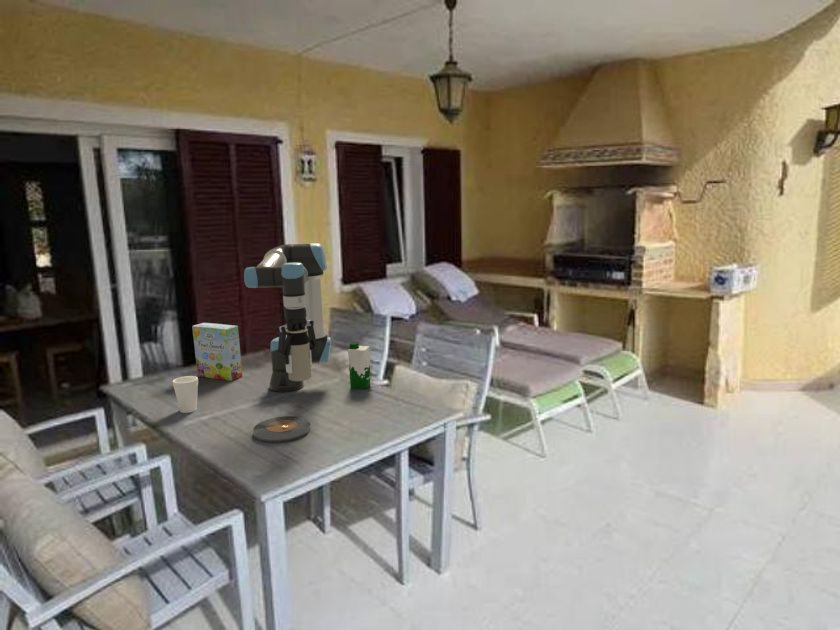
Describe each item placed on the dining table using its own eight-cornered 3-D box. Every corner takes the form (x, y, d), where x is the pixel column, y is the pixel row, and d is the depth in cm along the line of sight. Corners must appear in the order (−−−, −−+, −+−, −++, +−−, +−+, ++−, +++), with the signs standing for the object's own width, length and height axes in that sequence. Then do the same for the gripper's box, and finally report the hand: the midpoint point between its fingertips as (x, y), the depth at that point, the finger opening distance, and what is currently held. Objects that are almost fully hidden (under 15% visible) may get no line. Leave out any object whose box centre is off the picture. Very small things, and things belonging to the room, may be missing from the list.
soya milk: (353, 383, 258) (351, 340, 254) (372, 383, 257) (371, 341, 253) (348, 389, 250) (345, 345, 246) (367, 389, 248) (365, 346, 244)
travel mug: (287, 382, 197) (283, 332, 194) (290, 375, 205) (287, 327, 202) (309, 381, 198) (306, 331, 194) (312, 374, 206) (309, 326, 202)
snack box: (196, 377, 273) (190, 325, 268) (209, 372, 281) (204, 322, 276) (231, 381, 264) (226, 328, 260) (243, 376, 272) (239, 324, 267)
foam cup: (178, 416, 222) (175, 384, 219) (174, 409, 229) (170, 378, 227) (203, 410, 227) (200, 380, 224) (198, 404, 235) (195, 374, 232)
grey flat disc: (289, 417, 218) (289, 411, 217) (321, 430, 204) (320, 424, 204) (243, 432, 204) (242, 427, 203) (273, 448, 190) (273, 441, 190)
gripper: (276, 313, 186) (281, 378, 191) (325, 303, 201) (328, 364, 206) (263, 310, 191) (268, 374, 196) (312, 301, 206) (315, 361, 211)
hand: (299, 369), depth 201 cm, fingers closed on travel mug, 8 cm apart
